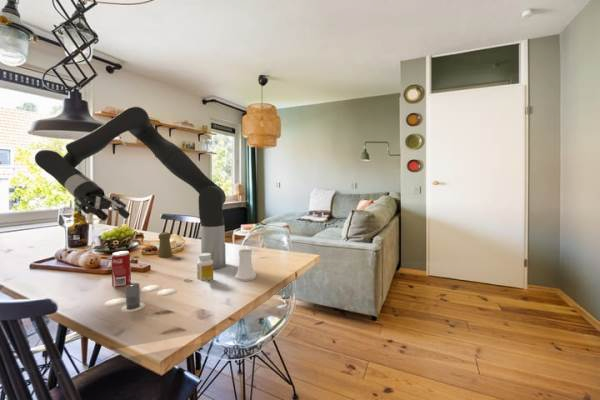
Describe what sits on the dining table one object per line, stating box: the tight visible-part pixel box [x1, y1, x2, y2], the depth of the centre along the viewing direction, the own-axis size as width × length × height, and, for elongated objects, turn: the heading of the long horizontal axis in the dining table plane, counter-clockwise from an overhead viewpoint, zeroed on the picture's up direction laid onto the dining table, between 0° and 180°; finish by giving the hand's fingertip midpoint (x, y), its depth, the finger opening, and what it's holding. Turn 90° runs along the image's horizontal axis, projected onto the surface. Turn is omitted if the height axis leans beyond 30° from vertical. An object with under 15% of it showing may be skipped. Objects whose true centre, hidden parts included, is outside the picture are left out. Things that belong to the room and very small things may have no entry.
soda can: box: [110, 250, 132, 288], centre depth 91 cm, size 5×5×12 cm
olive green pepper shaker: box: [157, 232, 173, 258], centre depth 131 cm, size 6×6×11 cm
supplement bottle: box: [196, 252, 214, 284], centre depth 98 cm, size 5×5×10 cm
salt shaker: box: [234, 248, 257, 282], centre depth 103 cm, size 8×8×10 cm
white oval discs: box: [103, 284, 178, 313], centre depth 82 cm, size 22×13×1 cm, turn 157°
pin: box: [124, 282, 141, 310], centre depth 75 cm, size 3×3×6 cm
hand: (117, 217), depth 93 cm, fingers open, 8 cm apart
